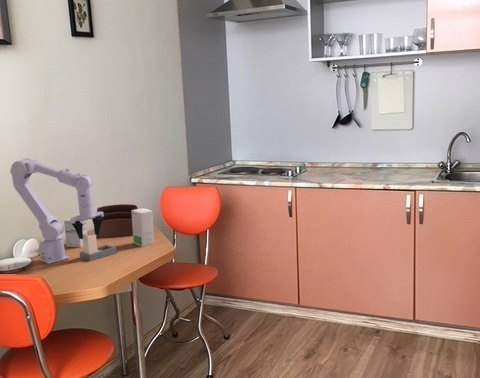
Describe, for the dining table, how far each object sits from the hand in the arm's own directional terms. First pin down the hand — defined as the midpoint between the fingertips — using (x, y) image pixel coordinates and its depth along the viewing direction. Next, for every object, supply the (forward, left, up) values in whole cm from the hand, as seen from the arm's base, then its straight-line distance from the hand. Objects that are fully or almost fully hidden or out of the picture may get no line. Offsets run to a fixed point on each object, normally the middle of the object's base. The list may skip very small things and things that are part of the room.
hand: (89, 236), depth 225 cm
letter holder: (+29, +23, -10) cm, 39 cm away
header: (+4, 0, -9) cm, 10 cm away
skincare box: (+26, -2, -9) cm, 28 cm away
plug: (0, 0, -6) cm, 7 cm away
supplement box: (+7, +23, -9) cm, 26 cm away
